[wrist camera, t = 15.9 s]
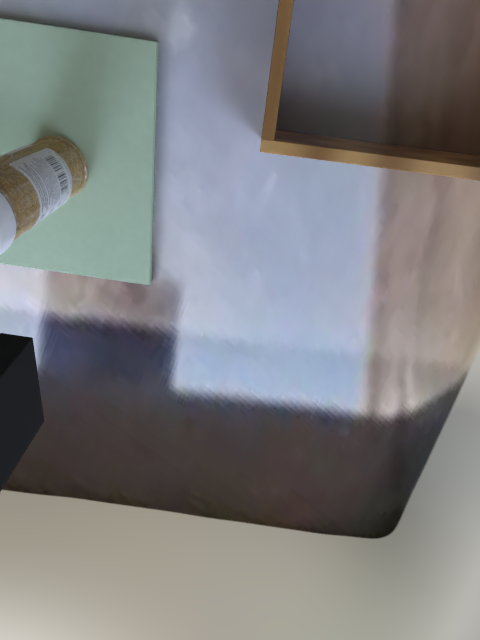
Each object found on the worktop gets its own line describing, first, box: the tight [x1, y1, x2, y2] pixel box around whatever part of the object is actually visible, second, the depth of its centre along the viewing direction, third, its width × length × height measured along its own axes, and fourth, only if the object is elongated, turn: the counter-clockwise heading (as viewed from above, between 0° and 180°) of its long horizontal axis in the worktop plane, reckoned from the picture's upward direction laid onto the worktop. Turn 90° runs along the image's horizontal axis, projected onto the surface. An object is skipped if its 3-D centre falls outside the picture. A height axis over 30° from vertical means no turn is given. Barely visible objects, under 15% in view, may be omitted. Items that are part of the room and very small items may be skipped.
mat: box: [0, 18, 159, 285], centre depth 35 cm, size 18×14×1 cm
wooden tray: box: [260, 0, 480, 181], centre depth 28 cm, size 18×14×4 cm
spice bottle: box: [0, 135, 89, 255], centre depth 29 cm, size 5×5×14 cm
